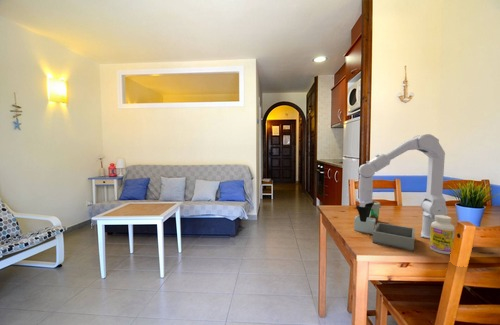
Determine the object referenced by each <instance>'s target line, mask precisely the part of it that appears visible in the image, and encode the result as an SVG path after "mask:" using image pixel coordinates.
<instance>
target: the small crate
mask: <svg viewBox="0 0 500 325" xmlns="http://www.w3.org/2000/svg"><path fill="white" fill-rule="evenodd" d="M353 222H354V224H353V225H354V226H353V227H354V228H353V229H354V230H353V231H355V232H361V233H365V234H366V233H367V234H370V235H373V230H374V229H375V227H376V223H375V218H369V217H367V219H366V222H362V221H360V217H359V215H356V216H355V217H354V221H353Z"/></svg>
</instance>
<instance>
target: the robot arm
mask: <svg viewBox="0 0 500 325" xmlns="http://www.w3.org/2000/svg"><path fill="white" fill-rule="evenodd" d="M414 150H417V151H419V152H422V153H423V154H424V155H426V156H427V157H428V162H427V163H428V164H427V165H428V166H427V175H426V176H427V179H426V192H425V194H424V195H423V199H422V201H421V203H420V208H421V210H422V211H423V212H422V222H421V224H422V225H421V227H422V228H421V229H422V230H421V231H420V237H421V238H426V239H430V236H431V223H432V222H435V215H444V216H448V211H449V210H448V207H447V204H446V199H445V197H444V195H443V188H444V187H443V186H444V173H445V172H444V171H445V158H446V157H445V155H446V153H445V150H444V149H443V147H442V145H441V144H440V140H439V138H437V137H435V135H432V134H430V133H427V134H422V135H415V136H413V137H412V138H409V139H407V140H406V141H404V142H402V143H401V144H399V145H398V146H396V147H395V148H393V149H392V150H389V151H388V152H387V153H386V154H384V153H380V154H379V153H378V154H376V155H375V157H374V158H372V159H370V160H366V161H365V162H366V163H364V164H361V165H360V166H359V168H358V169H357V172H358V174H359V176H358V177H359V178H358V198H355V201H356V202H357V201H358V203H359V204H356V205H355V208H356V209H357V212H358V216H359V217H360V221H362V222H366V219H367V217H369V216H370V211H371V208H372V206H373V204H374V203H372V202H373V201H374V200H373V190H374V189H373V188H374V184H373V183H374V180H373V178H374V175H375V174H376V173H378V172H379V171H381V170H382V169H384V168H386V167H387V166H389V165H390V164H391V161H392V160H393V159H395V158H397V157H399V156H401V155H402V154H404V153H407V152H408V151H414ZM451 222H452V221H451ZM451 222H450V224H452V223H451Z"/></svg>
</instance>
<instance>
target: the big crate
mask: <svg viewBox="0 0 500 325" xmlns="http://www.w3.org/2000/svg"><path fill="white" fill-rule="evenodd" d="M415 232H416V229H415V227H409V226H403V225H397V224H390V223H389V224H388V223H383V222H378V223H376V224H375V229H374V230H373V234H372V243H373V244H378V245H382V246H388V247H392V248H398V249H402V250H407V251H412V252H414V251H415V239H416V238H415V236H416V233H415Z"/></svg>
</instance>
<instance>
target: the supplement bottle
mask: <svg viewBox="0 0 500 325" xmlns="http://www.w3.org/2000/svg"><path fill="white" fill-rule="evenodd" d="M450 222H452V217H450V216H448V215H446V216H444V215H435V222H432V223H431V236H430V238H429V241H430V242H429V248H430V250H431V251H433V252H436V253H439V254H443V255H451V254H450V252H451V248H452V243H453V239H454V240H455V226H454V225H453V224H452V223H451V224H450Z"/></svg>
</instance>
